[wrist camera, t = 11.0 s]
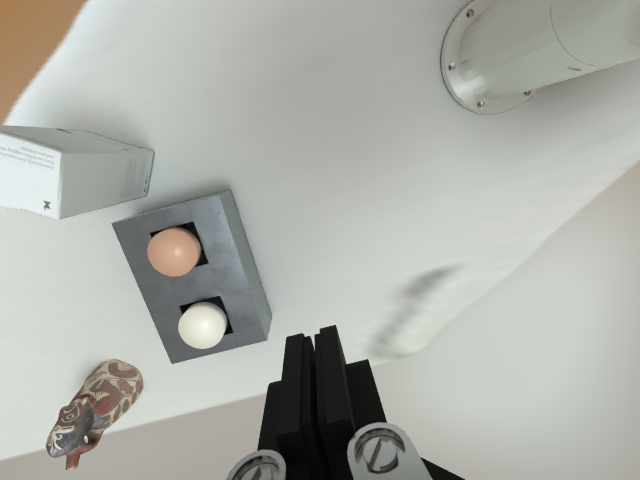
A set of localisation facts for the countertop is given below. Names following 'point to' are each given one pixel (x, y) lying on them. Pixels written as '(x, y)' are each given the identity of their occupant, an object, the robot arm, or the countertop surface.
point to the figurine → (94, 410)
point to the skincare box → (68, 171)
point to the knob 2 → (204, 323)
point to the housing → (199, 273)
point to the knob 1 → (175, 250)
